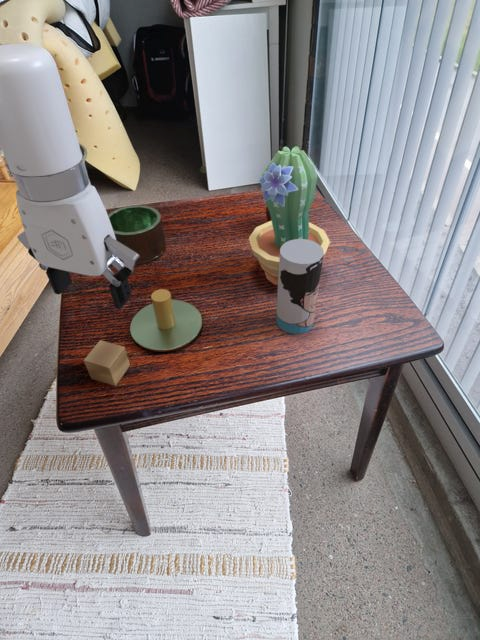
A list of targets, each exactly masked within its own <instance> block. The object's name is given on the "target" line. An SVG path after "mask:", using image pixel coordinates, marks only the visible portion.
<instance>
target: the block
mask: <svg viewBox="0 0 480 640" xmlns="http://www.w3.org/2000/svg"><path fill="white" fill-rule="evenodd" d="M83 362H84V365H85V367H86V370H87V372H88V374H89V377H90V379H91V380H94V381H97V382H101V383H104V384H108V385H110V386H114V387H116V386H117V385H118V384H119V382H120V381H121V379H122V378H123V377H124V375H125V373H126V372H127V371H128V369H129V368H130V367H131V362H130V360H129V357H128V354H127V349H126V347H125V346H123V345H119V344H116V343H113V342H108V341H105V340H101V339H100V340H99V341H98V342H97V343H96V344H95V346H94V347H93V348H92V349H91V350H90V352H89V353H88V354H87V355H86V357H85V358H84V359H83Z"/></svg>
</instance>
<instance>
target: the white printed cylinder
mask: <svg viewBox="0 0 480 640" xmlns="http://www.w3.org/2000/svg"><path fill="white" fill-rule="evenodd" d="M323 255H324V251H323V248H322V247H321V246H320V245H319V244H317V243H316V242H314V241H311V240H306V239H294V240H290V241H288V242H286V243H284V244H283V245H282V246H281V249H280V260H279V277H278V285H277V294H276V295H277V297H276V299H277V300H276V310H275V312H276V314H275V322H276V325H277V327H278V328H279V329H281V330H282V331H283V332H285V333H287V334H292V335H298V334H299V335H301V334H304V333H307V332H308V331H310V330H311V329H312V328H313V327H314V323H315V316H316V311H317V310H316V309H317V303H318V296H319V288H320V282H321V275H322V268H323V261H324V258H323Z"/></svg>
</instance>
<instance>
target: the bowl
mask: <svg viewBox="0 0 480 640" xmlns="http://www.w3.org/2000/svg"><path fill="white" fill-rule="evenodd" d="M108 217H109V220H110V222H111V225H112V228H113V231H114V234H115V238H116V240H117V241H118V242H120V243H121V244H123V245H125V246H126V247H128V248H130V249H131V250H133V251H135V252H136V253H138V254H139V256H140V258H139V261H138V263H137V266H140V265H145V264H148V263H151V262H154V261H156V260H158V259H159V258H161V257H162V255H163V254H164V253H165V252H166V243H167V242H166V238H165V237H166V236H165V231H164V226H163V225H164V224H163V220H162V215H161V212H159V210H158V209H156V208H154V207H152V206H148V205H144V204H143V205H141V204H139V205H138V204H136V205H127V206H124V207H119V208H117V209H115V210H112V211H111V212H109V214H108ZM120 260H121V259H120ZM121 261H122V260H121ZM122 262H123V261H122ZM123 263H124V262H123Z"/></svg>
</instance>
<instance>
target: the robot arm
mask: <svg viewBox="0 0 480 640" xmlns="http://www.w3.org/2000/svg"><path fill="white" fill-rule="evenodd" d="M67 100H68V99H67V97H66V94H65V90H64V86H63V83H62V79H61V75H60V72H59V69H58V65H57V63H56V60H55V59H54V57H53V56H52V54H51V53H50V52H49V51H48V50H47V49H46V48H44V47H43V46H40V45H38V44H37V45H36V44H34V43H33V44H32V43H8V44H6V43H5V44H0V149H1V151H2V153H3V156H4V159H5V161H6V163H7V165H8V171H9V173H11V176H12V178H13V180H14V182H15V185H16V188H17V190H16V192H15V199H16V204H17V210H18V215H19V217H20V221H21V224H22V227H23V231H21V232H20V233H19V234H18V235H17V239H18V241H19V242H20V243H21V245H22V246H23V247H24V248H25V249H27V252H28V255H29V256H31V257H32V258H33V259H34V260H35V261H37V263H38V267H39V268H40V269H41V270H42V271H45V274H46V276H47V278H48V282H49V284H50V285H51V289H52V291H53V292H54V293H53V294H55V295H61V294H62V293H64V292H65V290H66V289H67V288H69V286H70V285H71V284H72V283H73V279H72V277H71V274H70V273H74V274H79V275H83V276H89V277H100V276H103V277H105V279H107V281H109V283H110V284H109V286H108V288H109V291H110V295H111V298H112V302H113V304H114V307H115V308H116V309H118V310H121V309H123V307H124V306H125V304H126V303H127V302H128V301H129V300H130V299H131V297H132V290H131V286H130V282H129V279H128V278H129V277H130V276H132V274H133V273H134V272H135V271H136V269H137V266H138V265H137V263H138V261H139V258H140V256H139V254H138V253H136V252H135V251H133V250H131V249H130V248H128V247H126V246H125V245H123V244H121V243H120V242H118V241H117V240H116V238H115V234H114V231H113V228H112V225H111V222H110V220H109V217H108V215H109V214H108V212H107V209H106V207H105V205H104V202H103V200H102V198H101V196H100V194H99V192H98V191H97V189H96V187H95V186H94V185H92V184H91V180H90V178H89V177H90V176H89V174H88V170H87V167H86V163H85V159H84V156H83V152H82V149H81V147H80V146H81V145H80V142H79V138H78V135H77V132H76V129H75V125H74V122H73V118H72V115H71V111H70V107H69V104H68V101H67ZM120 259H121V260H122V261H123V262H124V263H123V262H122V261H121V260H120ZM111 265H112V266H113V267H114V268H115V269H116V270H117V273H115V272H113V270H112V269H111V268H110V266H111Z"/></svg>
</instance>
